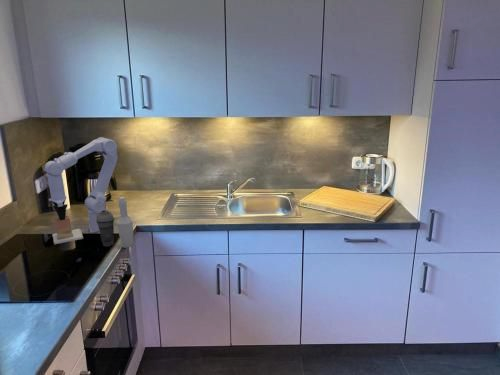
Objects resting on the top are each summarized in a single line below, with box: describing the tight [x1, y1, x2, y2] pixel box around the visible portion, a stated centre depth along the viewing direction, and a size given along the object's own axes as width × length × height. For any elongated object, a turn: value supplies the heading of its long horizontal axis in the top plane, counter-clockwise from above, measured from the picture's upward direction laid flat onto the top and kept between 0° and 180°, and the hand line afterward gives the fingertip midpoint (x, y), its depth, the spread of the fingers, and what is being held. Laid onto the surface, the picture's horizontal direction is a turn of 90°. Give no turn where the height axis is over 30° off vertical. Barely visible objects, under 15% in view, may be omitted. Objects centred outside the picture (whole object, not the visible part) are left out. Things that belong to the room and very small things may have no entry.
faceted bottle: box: [117, 196, 134, 249], centre depth 174 cm, size 6×6×22 cm
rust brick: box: [53, 215, 72, 230], centre depth 184 cm, size 4×6×4 cm, turn 119°
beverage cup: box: [96, 200, 115, 247], centre depth 176 cm, size 7×7×20 cm
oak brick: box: [55, 227, 72, 239], centre depth 186 cm, size 4×6×4 cm, turn 119°
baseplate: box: [52, 228, 84, 245], centre depth 188 cm, size 12×11×1 cm
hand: (61, 217), depth 184 cm, fingers open, 7 cm apart
